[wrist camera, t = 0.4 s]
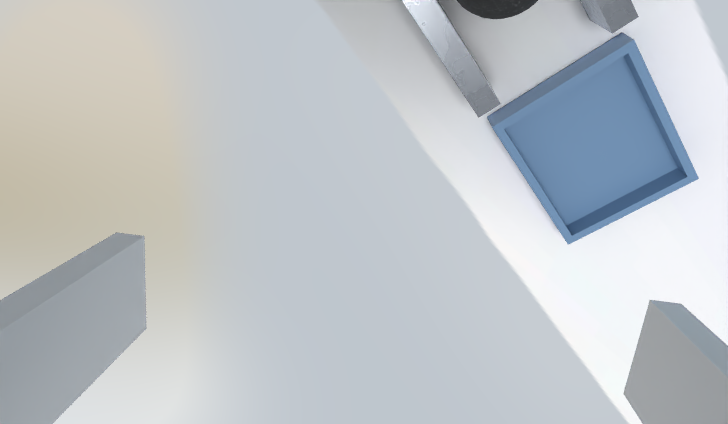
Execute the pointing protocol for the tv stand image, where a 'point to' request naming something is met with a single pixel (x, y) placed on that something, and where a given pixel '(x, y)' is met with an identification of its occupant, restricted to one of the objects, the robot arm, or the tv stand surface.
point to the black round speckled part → (496, 7)
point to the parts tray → (595, 140)
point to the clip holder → (602, 4)
